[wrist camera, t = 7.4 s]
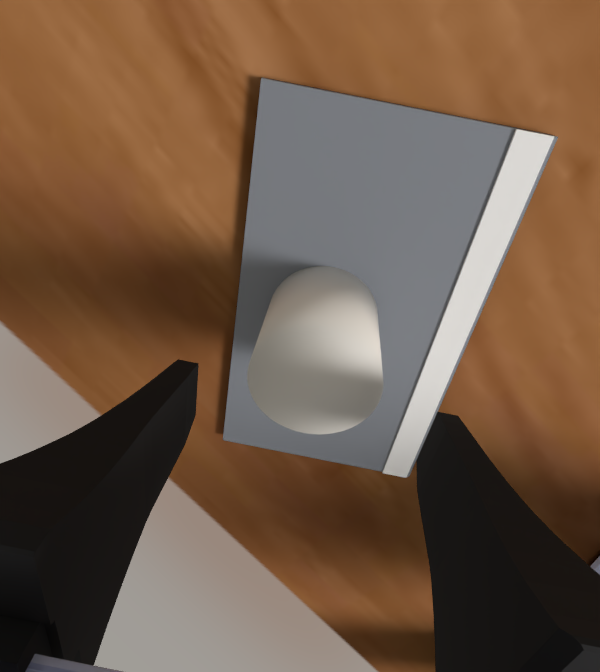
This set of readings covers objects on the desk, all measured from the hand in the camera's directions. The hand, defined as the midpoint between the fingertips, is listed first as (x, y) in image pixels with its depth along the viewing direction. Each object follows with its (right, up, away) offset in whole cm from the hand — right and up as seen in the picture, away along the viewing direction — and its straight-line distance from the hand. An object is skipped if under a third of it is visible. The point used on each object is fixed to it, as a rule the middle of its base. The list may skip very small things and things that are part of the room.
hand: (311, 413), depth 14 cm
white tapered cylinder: (+1, +3, +5) cm, 6 cm away
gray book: (+2, +3, +5) cm, 6 cm away
